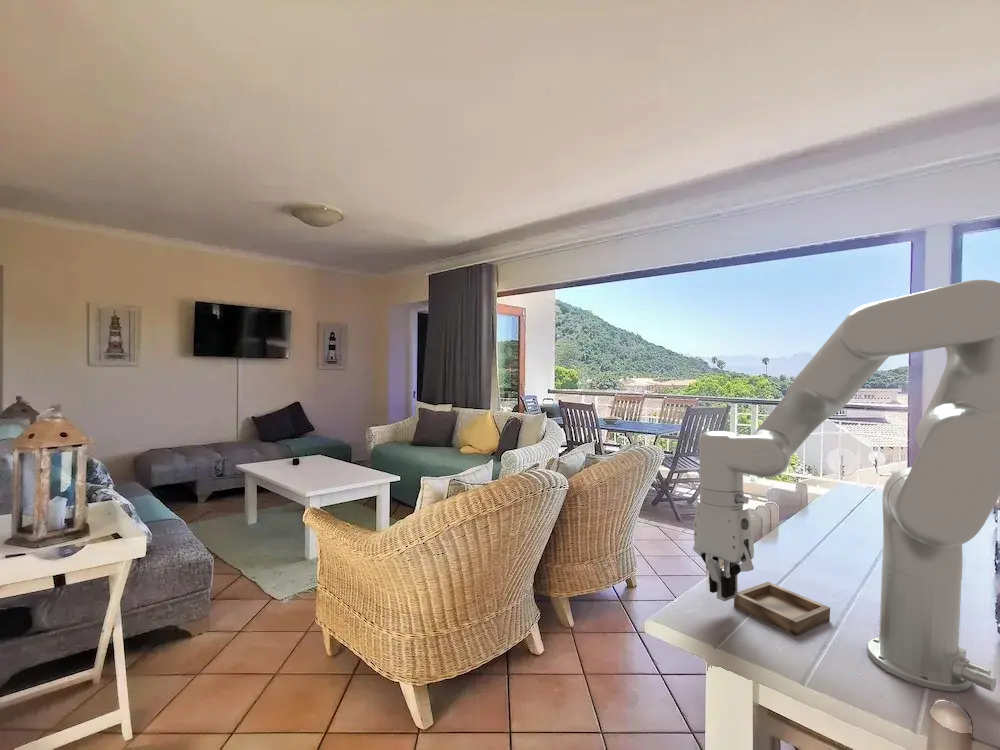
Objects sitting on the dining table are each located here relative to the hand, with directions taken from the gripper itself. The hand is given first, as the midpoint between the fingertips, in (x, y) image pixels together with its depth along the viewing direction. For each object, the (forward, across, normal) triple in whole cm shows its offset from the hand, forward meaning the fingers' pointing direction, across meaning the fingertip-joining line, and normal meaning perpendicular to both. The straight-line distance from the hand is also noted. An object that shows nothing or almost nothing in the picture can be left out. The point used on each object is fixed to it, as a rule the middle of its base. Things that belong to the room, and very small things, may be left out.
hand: (722, 592), depth 93 cm
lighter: (+1, 0, 0) cm, 1 cm away
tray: (+4, -5, -10) cm, 12 cm away
